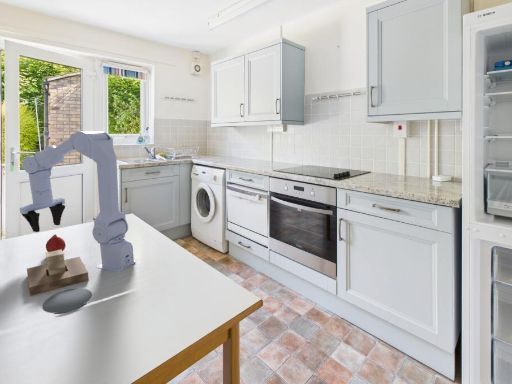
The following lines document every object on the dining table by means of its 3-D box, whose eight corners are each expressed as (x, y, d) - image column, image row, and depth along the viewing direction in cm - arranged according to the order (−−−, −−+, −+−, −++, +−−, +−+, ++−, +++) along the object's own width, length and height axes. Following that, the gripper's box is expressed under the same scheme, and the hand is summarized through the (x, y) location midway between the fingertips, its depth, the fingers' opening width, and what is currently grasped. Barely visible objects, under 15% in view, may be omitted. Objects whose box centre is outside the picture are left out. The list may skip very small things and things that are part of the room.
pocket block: (80, 264, 99) (79, 256, 99) (89, 281, 89) (87, 272, 88) (28, 277, 91) (26, 268, 90) (30, 297, 80) (28, 287, 79)
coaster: (101, 294, 82) (101, 292, 82) (65, 317, 72) (65, 315, 72) (70, 287, 85) (70, 285, 85) (32, 309, 75) (31, 307, 75)
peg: (64, 273, 92) (61, 249, 91) (66, 278, 89) (63, 253, 88) (49, 277, 90) (45, 252, 88) (50, 282, 87) (46, 257, 85)
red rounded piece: (44, 259, 103) (41, 238, 101) (50, 253, 108) (47, 232, 107) (63, 258, 104) (60, 236, 103) (68, 251, 110) (66, 231, 108)
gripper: (52, 185, 110) (57, 221, 113) (10, 193, 96) (17, 233, 99) (67, 187, 108) (71, 222, 111) (26, 195, 94) (32, 236, 97)
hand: (47, 228), depth 105 cm, fingers open, 7 cm apart
